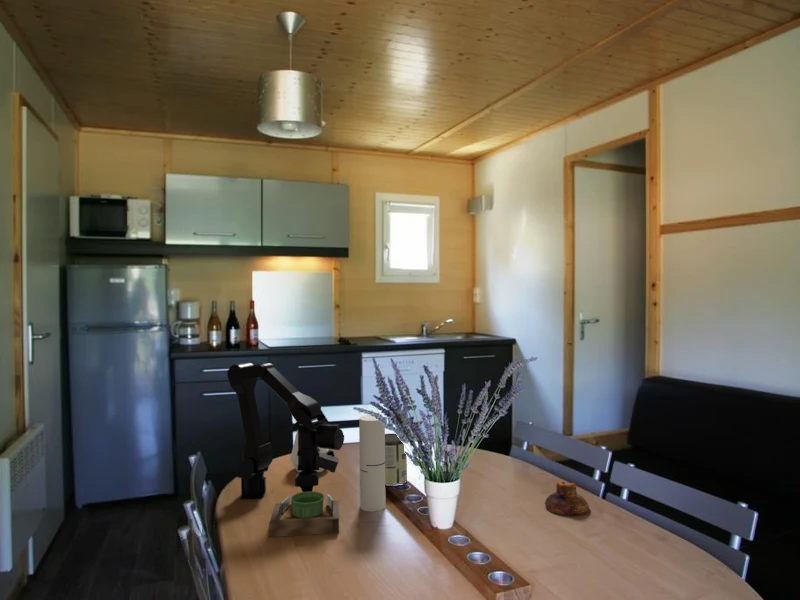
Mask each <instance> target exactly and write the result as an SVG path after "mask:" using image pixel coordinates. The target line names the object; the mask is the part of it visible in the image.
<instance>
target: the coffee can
mask: <svg viewBox="0 0 800 600" xmlns="http://www.w3.org/2000/svg"><path fill="white" fill-rule="evenodd" d="M396 434H397V433H385V484H393V483H399V482H405V481H407V482H408V473H407V472H408V468H407V466H408V464H407V463H408V461H407V458H408V457H407V456H408V455H407V456H406V454H405V453H404V444H403V443H402V442H401V441H400V440H399V438H398V437H397V435H396Z"/></svg>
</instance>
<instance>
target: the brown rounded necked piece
mask: <svg viewBox="0 0 800 600" xmlns="http://www.w3.org/2000/svg"><path fill="white" fill-rule="evenodd" d="M555 486H556V490H555V492H553V493H551V494H549V495H548V496H547V497H546V498H545V501H544V504H545V505H544V506H545V509H546V510H547V511H548V512H551V513H552V514H556V515H561V516H566V517H579V516H583V515H585V514H587V513H588V511H590V506H589V503H588V501H587V500H586V498H584V497H583V496H582V495H580V494H578V493H577V484H576V483H575V482H571V483H570V482H569V483H565V481H563V480H558V481H557V482H556V485H555Z"/></svg>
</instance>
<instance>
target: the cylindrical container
mask: <svg viewBox="0 0 800 600" xmlns="http://www.w3.org/2000/svg"><path fill="white" fill-rule="evenodd" d="M370 415H371V414H368V415H367V414H366V415H361V416H359V418H358V419H359V420H358V421H359V422H358V424H359V427H358V428H359V429H358V433H359V434H358V435H359V439H358V441H359V444H358V445H359V508H360V509H361V510H362V511H365V512H380V511H383V510H385V508H386V501H387V500H386V496H387V495H386V487H385V434H386V427H385V426H384V425H383V424H382V423H381V422H380V421H379V420H378V419H376V418H375V417H372V416H370ZM382 416H383V415H382ZM383 417H385V416H383Z"/></svg>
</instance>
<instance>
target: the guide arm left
mask: <svg viewBox="0 0 800 600" xmlns="http://www.w3.org/2000/svg"><path fill="white" fill-rule="evenodd" d="M280 503H281V516H282V515H284V511H285V510H286V509H288V507H290V505H291V496H290V495H287V497H285V498H284V500H282V501H281V502H280Z"/></svg>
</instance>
